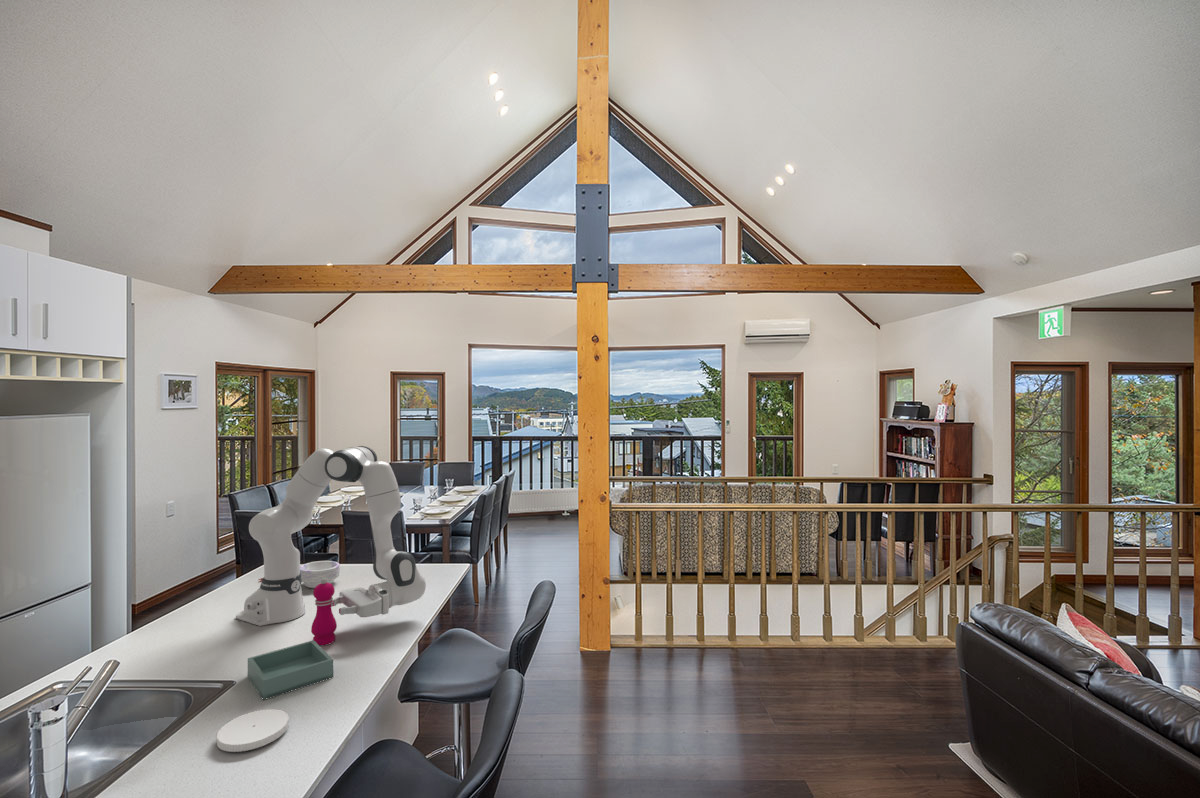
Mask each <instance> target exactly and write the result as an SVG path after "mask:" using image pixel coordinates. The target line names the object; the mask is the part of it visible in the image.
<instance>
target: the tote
mask: <svg viewBox="0 0 1200 798" xmlns="http://www.w3.org/2000/svg"><path fill="white" fill-rule="evenodd" d="M248 677H249V678H248ZM332 677H333V678H334V659H333V657H332V656H331V655H329V654H328V653H327V651H326V650H324V649H323V648H322V646H319V645H318V644H317V643H316V642H315V641H314V640H313V639H312V640H309V641H305V642H302V643H299V644H295V645H291V646H287V647H284V648H279V649H277V650H273V651H269V652H265V653H262V654H257V655H255V656H250V657H248V658H247V678H248V679H249V681H250V680H251V681H250V683H251V684H252V683H253V684H252V685H253V687H254V686H255V687H254V689H255V690H256V689H257V690H256V691H258V692H259V693H258V692H257V693H258V694H260V695H259V696H260V697H262V698H263V699H266V698H269V699H271V698H270V697H272V698H274V697H273V696H275V697H277V696H276V695H278V696H280V694H281V695H283V694H282V693H284V694H286V692H287V693H290V692H292V691H291V690H293V691H296V690H295V689H297V690H299V689H298V688H300V689H302V688H301V687H303V688H305V687H304V686H306V687H308V686H307V685H309V686H311V685H310V684H312V685H315V684H317V682H318V683H321V682H324V681H327V680H330V679H329V678H331V679H333V678H332ZM326 679H327V680H326ZM323 680H324V681H323ZM320 681H321V682H320ZM314 683H315V684H314ZM289 691H290V692H289ZM262 698H261V699H262ZM263 699H262V700H263ZM266 700H267V699H266Z"/></svg>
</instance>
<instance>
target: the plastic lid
mask: <svg viewBox="0 0 1200 798" xmlns="http://www.w3.org/2000/svg"><path fill="white" fill-rule="evenodd" d="M289 718H290V716H289V714H288V713H287V712H286V711H284V710H280V709H274V708H269V709H268V708H267V709H259V710H255V711H251V712H247V713H245V714H242V715H240V716H237V717H235V718H233V719H232V720H230V721H229V722H227V723H225V724H224V725H222V726H221V728H219V730H218V731H217V734H216V745H217V748H218V749H219V750H221V751H224V752H229V753H230V752H231V753H236V752H237V753H239V752H240V753H242V752H247V751H250V750H251V751H252V750H255V749H259V748H262V747H263V746H266V745H268V744H271V742H274V741H276V740H277V739H279V738H280V737H281V736H283V735H284V734H285V732H287V730H288V728H289V726H290V719H289Z"/></svg>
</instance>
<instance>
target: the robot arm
mask: <svg viewBox="0 0 1200 798" xmlns="http://www.w3.org/2000/svg"><path fill="white" fill-rule="evenodd" d="M332 480H333V481H336V482H341V483H342V482H343V483H356V482H359V483H360V484H361V485H362V488H363V491H364V496H365V501H366V505H367V509H368V514H369V520H370V527H371V535H372V540H373V549H374V557H373V564H372V569H373V570H372V571H373V572H374V574H375V576H376V577H377V578H379V579H380V580H384V581H383V582H379V583H374V584H371V585H369V586H368V588H367V589H365V588H364V587H353V588H347V589H343V590H340V591H339V595H338V596H337V597H335V598H333V602H332V603H331V608H332V607H336V606H337V605H338V604H340V605H341V604H343V605H344V606H343V607H340V608H338V614H340V616H344V615H351V614H352V615H354V614H356V615H357V616H359V617H360V618H370V617H373V616H379V615H382V616H383V615H386V614H389V613H390V612H389V609H391V608H392V607H395V606H403V605H407V604H410V603H413V602H415V601H417V600H420V599H421V598H422V597H423V595H424V594H425V591H426V585H427V584H426V580H425V577H424V576H423V575H422V574H421V573H420V572H419V569H418V567H417V564H416V559H415V557H414V556H413V554H411V553H410V552H408V551H399V550H398V551H397V550H396V549H395V546H394V542H393V536H392V529H391V525H392V520H393V519H394V517H395V516H396V515H397V513H398V512H399V511H400V509H401V506H402V505H401V504H402V503H401V501H402V499H401V493H400V489H399V484H398V481H397V478H396V476H395V473H394V470H393V468H392V466H391V465H390V463H388V462H387V461H381V460H378V456H377V453H376V451H374V449H372V448H370V447H368V446H363V445H359V446H351V447H347V448H343V449H340V450H336V451H334V450H333V449H330V448H325V447H321V448H319V449H316V450H315V451H314V452H312V453H311V454H310V455H309V456H308V457H307V459H306V460H305V461H304V462H303V463H302V464H301V466H300V467H299V468H298V469H297V471H296V472H295V473H294V475H293V477H292V478H291V479H290V481H289V482H288V484H287V485H286V487H285V492H286V495H285V498H284V500H283V501H282V502H281V503H279V504H278V505H276V506H273V507H270V508H267V509H264V510H262V511H260V512H259V513H257V514H255V516H253V517H252V518H251V519H250V521H249V523H248V533H249V535H250V536H251V537H252V538H253V540H254V541H256V542H258V544H259V547H260V548H261V551H262V556H263V568H264V569H263V572H264V573H263V576H264V577H261V578H259V579H258V581H257V583H258V584H259V583H260V586H259V588H258V589H256V591H254V592H253V593H252V594H250V595H249V596H248V597H246V599H245V601H244V605H243V610H241V611H240V612H238V613H237V614H236V615H235V619H236V620H240V621H243V622H247V623H250V624H253V625H256V626H260V627H261V626H266V625H267V626H268V625H271V624H279V623H284V622H289V621H292V620H295V619H297V618H300V617H301V616H303V615H305V614H306V609H305V607H306V605H305V603H304V597H303V590H302V586H301V585H302V583H303V582H302V579H301V578H302V576H301V573H300V566H301V552H300V550H299V549H298V548H297V547H295V546H294V543H293V540H292V534H295V533H296V532H298V533H299V532H300V531H301V530H303V529H304V528H305V527H307V526H308V525H309V524H310V523H311V521H312V519H313V515H314V514H313V513H314V512H313V511H314V509H315V505H316V503H317V502H318V500H319V499H320V497H321V496H322V494H323V493H324V492H325V490H326V488H328V486H329V484H330V483H331V481H332Z"/></svg>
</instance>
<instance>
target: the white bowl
mask: <svg viewBox="0 0 1200 798" xmlns="http://www.w3.org/2000/svg"><path fill="white" fill-rule="evenodd" d="M340 567H341V565H340V563H339V562H337V561H333V560H318V561H311V562H307V563H304V564H302V565H300V573H301V576H302V578H301V579H302V583H303V584H304V586H305V587H307V588H309V589H310V588H311V589H315V587H316V586H317V585H319V584H321V580H322V579H323V578H325V579H327V583H330V584H332V585H333V583H334V581H335V580H336V579H337V578H339V577H340V571H341V569H340Z"/></svg>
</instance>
